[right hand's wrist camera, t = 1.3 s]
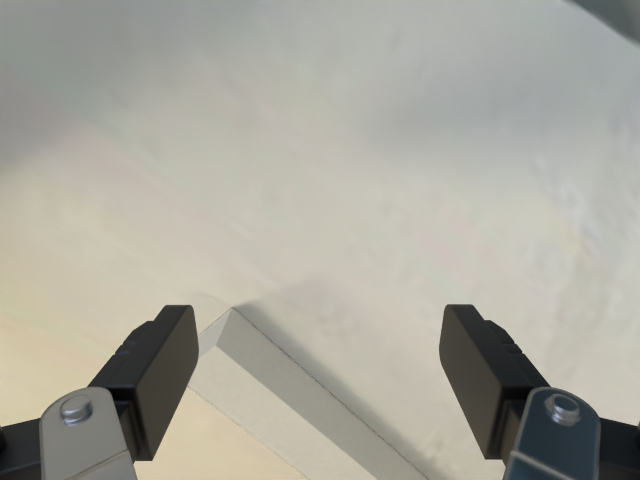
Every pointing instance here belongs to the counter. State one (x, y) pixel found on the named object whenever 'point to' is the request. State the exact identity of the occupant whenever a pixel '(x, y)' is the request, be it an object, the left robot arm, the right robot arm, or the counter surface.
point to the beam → (288, 407)
